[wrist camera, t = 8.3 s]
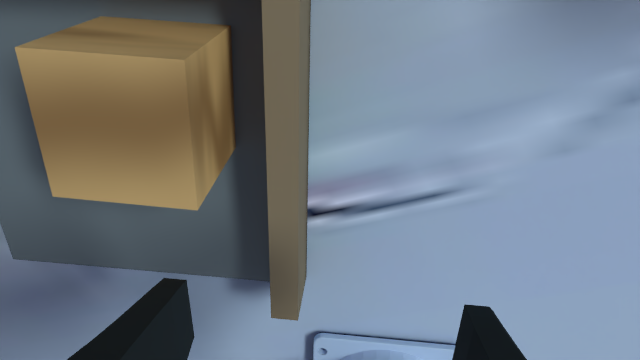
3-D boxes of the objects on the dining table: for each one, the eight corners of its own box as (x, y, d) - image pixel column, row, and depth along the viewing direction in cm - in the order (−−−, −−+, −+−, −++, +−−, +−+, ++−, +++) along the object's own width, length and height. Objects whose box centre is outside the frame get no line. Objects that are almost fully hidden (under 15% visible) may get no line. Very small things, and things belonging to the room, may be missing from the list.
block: (235, 147, 20) (197, 210, 16) (120, 137, 21) (52, 196, 16) (230, 25, 18) (184, 59, 14) (100, 16, 18) (14, 46, 14)
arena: (306, 276, 24) (297, 320, 21) (20, 251, 25) (-21, 290, 23) (311, -60, 17) (299, -56, 14) (-89, -73, 18) (-169, -72, 15)
